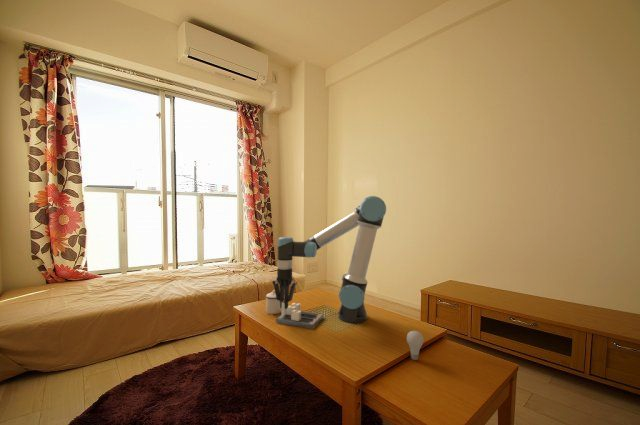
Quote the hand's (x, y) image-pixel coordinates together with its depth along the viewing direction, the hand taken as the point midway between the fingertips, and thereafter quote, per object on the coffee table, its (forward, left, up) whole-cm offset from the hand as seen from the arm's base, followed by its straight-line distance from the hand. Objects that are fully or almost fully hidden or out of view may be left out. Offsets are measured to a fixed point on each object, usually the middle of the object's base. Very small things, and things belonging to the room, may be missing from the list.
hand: (283, 314), depth 140 cm
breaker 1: (-2, -5, -1) cm, 5 cm away
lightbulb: (-63, +14, -4) cm, 64 cm away
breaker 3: (-7, 0, -1) cm, 7 cm away
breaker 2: (-2, -10, -1) cm, 10 cm away
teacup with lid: (+13, -11, -4) cm, 18 cm away
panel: (-7, -5, -4) cm, 9 cm away
